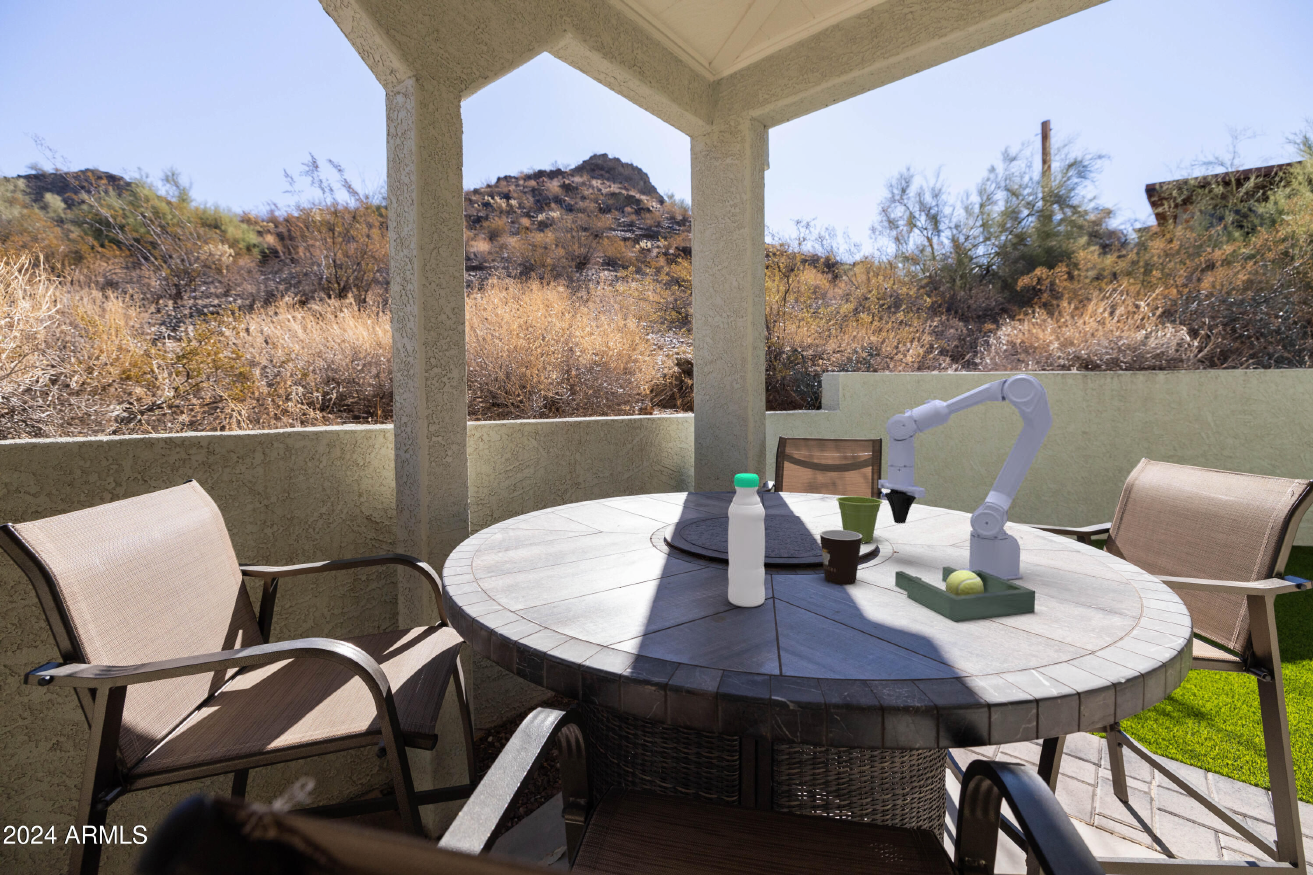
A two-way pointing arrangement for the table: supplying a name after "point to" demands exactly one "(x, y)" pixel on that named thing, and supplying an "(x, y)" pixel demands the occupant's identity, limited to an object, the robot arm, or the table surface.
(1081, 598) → the table surface
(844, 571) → the coffee mug
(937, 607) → the chute bay
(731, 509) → the water bottle
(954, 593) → the tennis ball
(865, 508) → the plant pot
